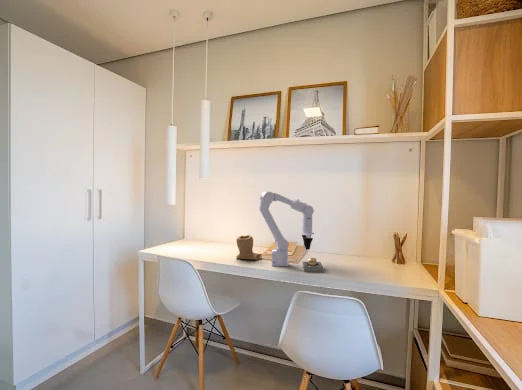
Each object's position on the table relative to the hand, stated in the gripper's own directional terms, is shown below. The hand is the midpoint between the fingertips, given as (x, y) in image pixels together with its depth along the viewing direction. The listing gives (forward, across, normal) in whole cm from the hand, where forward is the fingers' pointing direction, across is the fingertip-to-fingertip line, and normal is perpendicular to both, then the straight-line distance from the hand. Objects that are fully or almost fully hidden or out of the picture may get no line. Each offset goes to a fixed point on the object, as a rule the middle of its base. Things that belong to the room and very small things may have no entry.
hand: (306, 248), depth 168 cm
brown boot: (+10, +8, +36) cm, 38 cm away
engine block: (+9, -12, -2) cm, 15 cm away
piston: (+9, -12, -2) cm, 15 cm away
